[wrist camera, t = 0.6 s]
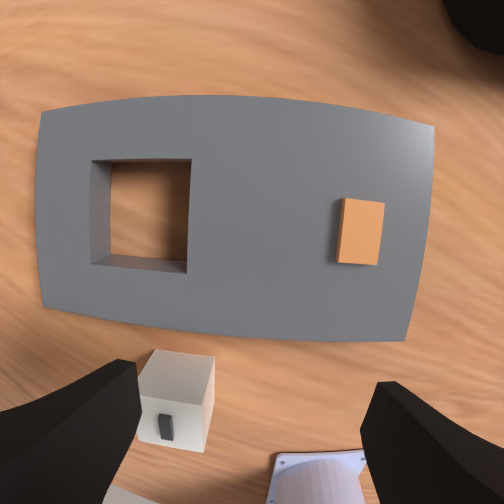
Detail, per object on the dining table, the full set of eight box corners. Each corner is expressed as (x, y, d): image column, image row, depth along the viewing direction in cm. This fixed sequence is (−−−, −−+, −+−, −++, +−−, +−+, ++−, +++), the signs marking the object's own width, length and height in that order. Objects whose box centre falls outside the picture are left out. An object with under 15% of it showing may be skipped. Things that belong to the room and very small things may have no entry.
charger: (214, 402, 20) (202, 457, 14) (160, 394, 20) (136, 444, 14) (214, 356, 19) (200, 410, 14) (155, 348, 19) (126, 396, 14)
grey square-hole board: (389, 323, 18) (408, 346, 15) (63, 294, 18) (38, 310, 15) (413, 132, 15) (439, 124, 12) (63, 118, 16) (35, 110, 13)
